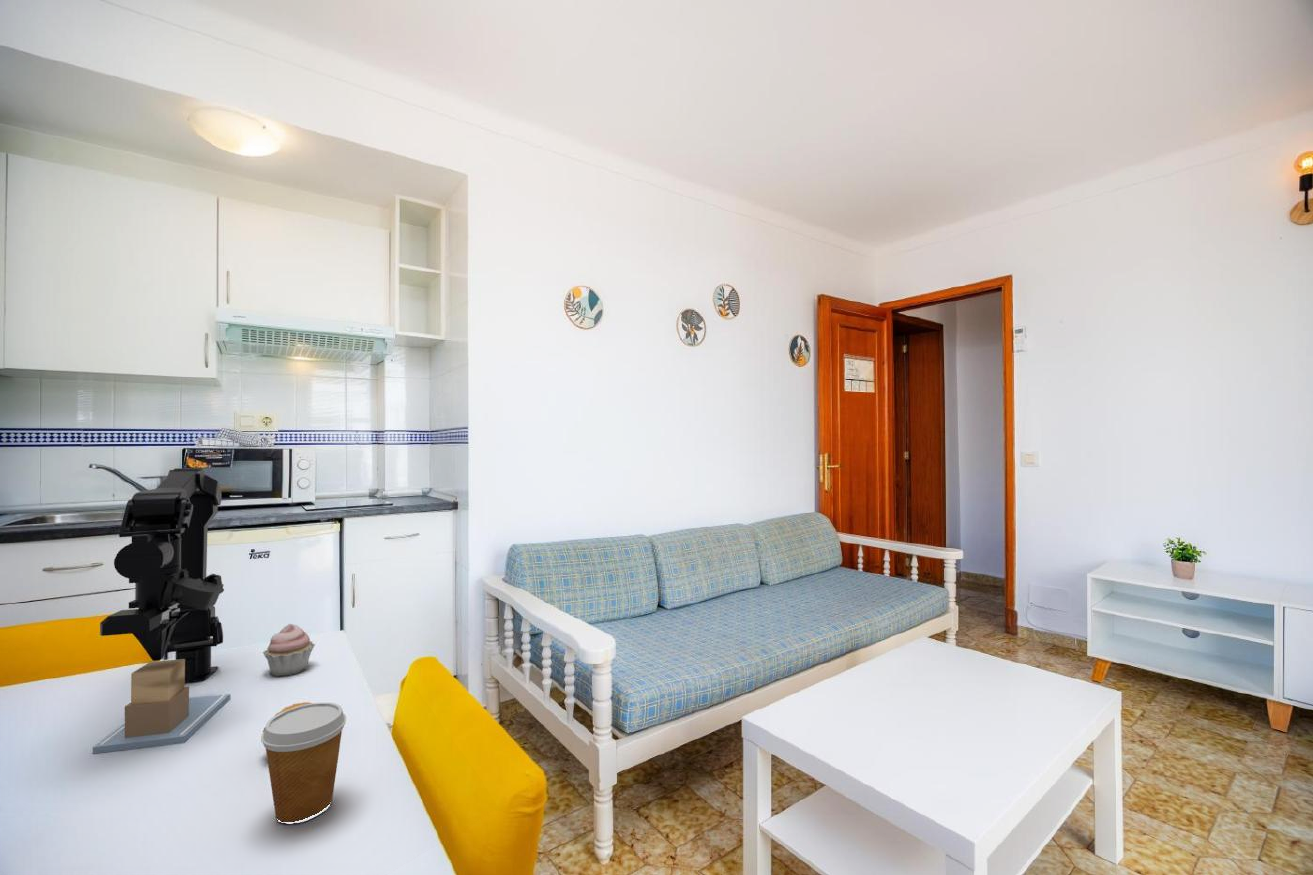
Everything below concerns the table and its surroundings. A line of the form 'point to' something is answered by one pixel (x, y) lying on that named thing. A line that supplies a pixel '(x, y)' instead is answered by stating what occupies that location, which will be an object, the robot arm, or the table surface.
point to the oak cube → (157, 681)
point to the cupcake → (289, 651)
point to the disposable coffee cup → (303, 758)
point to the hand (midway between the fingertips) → (157, 659)
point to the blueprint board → (169, 737)
